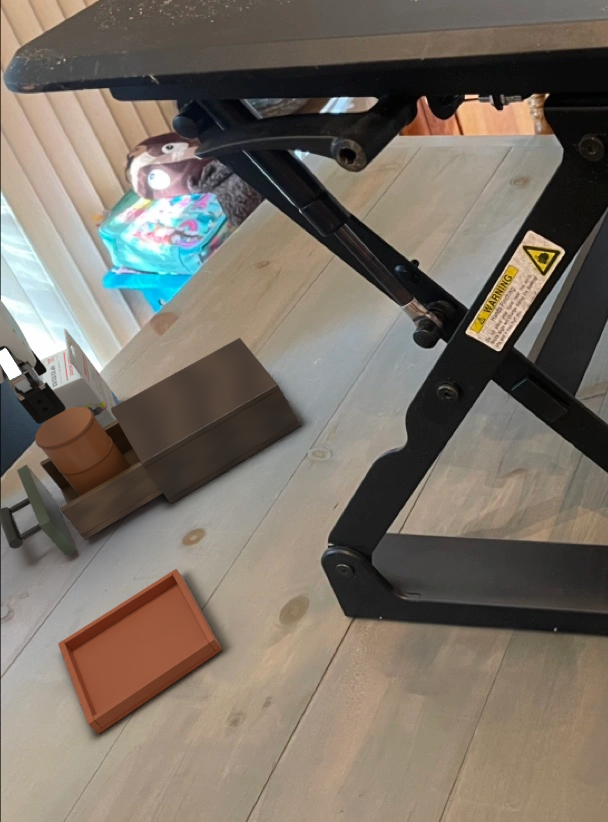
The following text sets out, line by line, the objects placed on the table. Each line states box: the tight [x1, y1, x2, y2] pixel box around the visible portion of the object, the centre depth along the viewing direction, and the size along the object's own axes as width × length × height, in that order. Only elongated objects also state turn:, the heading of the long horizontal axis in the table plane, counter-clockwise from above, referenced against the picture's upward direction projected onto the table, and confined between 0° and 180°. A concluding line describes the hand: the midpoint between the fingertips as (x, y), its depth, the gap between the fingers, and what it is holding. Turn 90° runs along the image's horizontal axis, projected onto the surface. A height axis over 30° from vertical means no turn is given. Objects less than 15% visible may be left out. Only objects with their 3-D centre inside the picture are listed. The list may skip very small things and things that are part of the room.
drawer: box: [0, 420, 163, 558], centre depth 131 cm, size 21×13×6 cm, turn 130°
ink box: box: [40, 328, 121, 428], centre depth 141 cm, size 8×5×15 cm, turn 31°
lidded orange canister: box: [34, 407, 132, 496], centre depth 130 cm, size 7×7×11 cm
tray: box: [57, 568, 223, 735], centre depth 114 cm, size 13×13×2 cm
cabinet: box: [111, 337, 302, 504], centre depth 138 cm, size 18×14×8 cm
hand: (42, 396), depth 123 cm, fingers open, 9 cm apart
